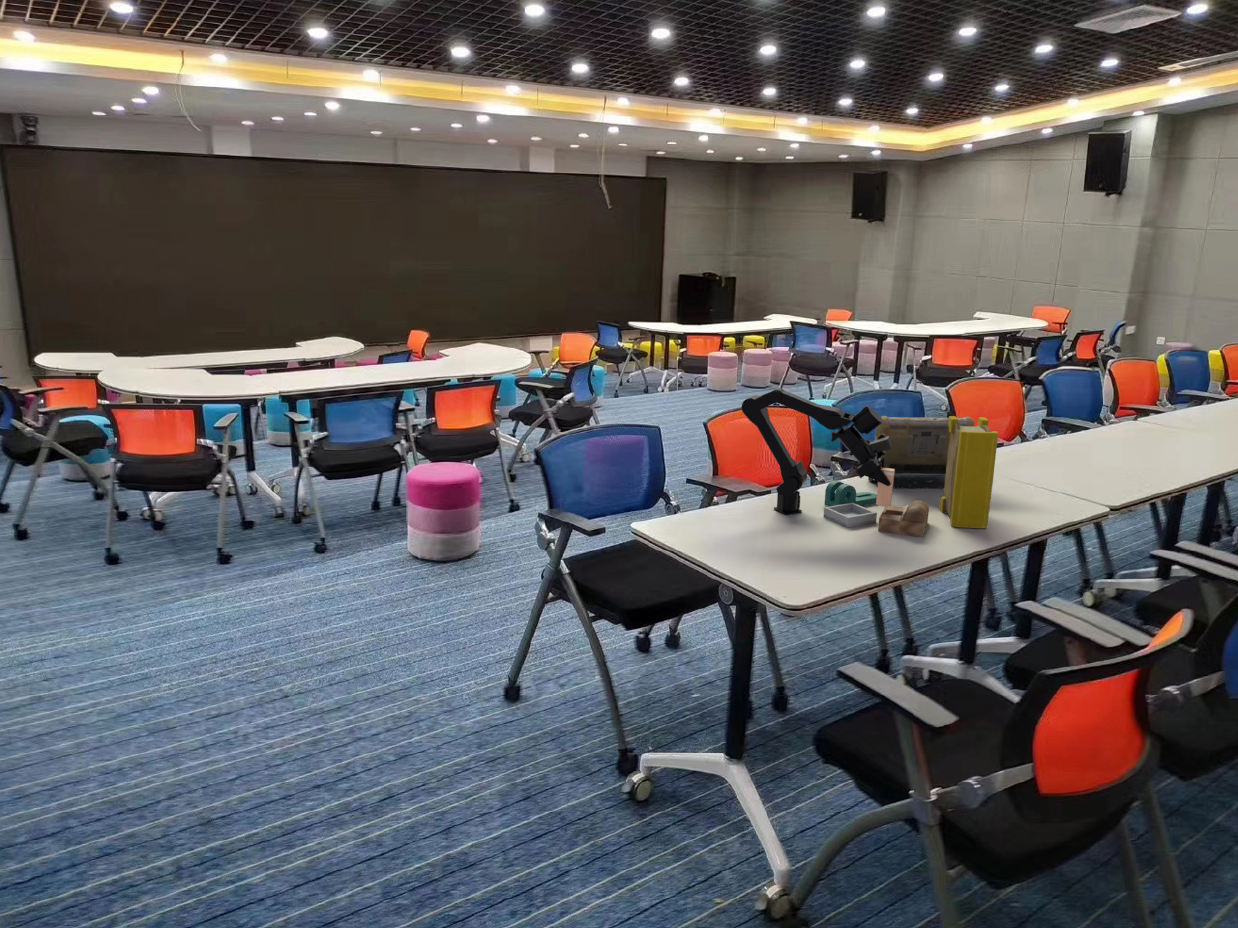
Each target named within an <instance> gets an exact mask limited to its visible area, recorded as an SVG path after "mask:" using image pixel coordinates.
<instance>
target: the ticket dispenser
mask: <svg viewBox="0 0 1238 928" xmlns="http://www.w3.org/2000/svg"><path fill="white" fill-rule="evenodd" d="M929 512H930V511H929V506H928V504H927V503H926V502H924V501H923V500H913V501H912V502H911V503H909V504H906V506H899V505H892V504H891V506H890V507H888V506H884V509H883V510H882V512H881V514H880V516H879V517H878V525H877V526H878V528H877V531H878V532H882V533H883V532H884V533H891V534H898V535H904V536H905V535H906V536H910V537H911V536H912V537H920V538H923V535H924V533H925V531H926V528H927V525H928V521H929Z"/></svg>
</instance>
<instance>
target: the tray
mask: <svg viewBox="0 0 1238 928" xmlns="http://www.w3.org/2000/svg"><path fill="white" fill-rule="evenodd" d="M877 517H878V512H876V511H874V510H871V509H869V508H866V507H865V506H859V505H857V504H854V503H848V504H842V505H836V506H830V507H829V506H825V507H824V508H823V518H825V519H828V520H829V521H832V522H834V523H837V524H839V525H841V526H844V527H846V528H852V527H857V526H863V525H869V524H873V523H877V519H878V518H877Z"/></svg>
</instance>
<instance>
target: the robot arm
mask: <svg viewBox="0 0 1238 928" xmlns="http://www.w3.org/2000/svg"><path fill="white" fill-rule="evenodd" d="M774 404H779V405H782V406H783V407H786V408H788V409H791V410H793V411H796V412H799V413H801V414H803V415H806V416H808V417H811V418H812V419H814V420H815V421H816V422H817V423H818V424H820V425H821V426H822V427H824V428H826V429H828V430H831V431H832V432H831V440H830V441H831V442H832V443H834V442H835V441H836V440H837V439H838V440H839V441H840V442H841V444H843V446H844V447H845V448H846V449H847V451H849V454H848V455H850V457H854V459H856V461H857V462H858V464H857V465H858V467H857V468H856V473H855V474H856V475H857V476H858V478H860V479H862V478H864V477H867V478H868V477H869V478H872V479H873V481H876V482H877V481H878V482H880V483H882V484H884V485H886V486H890V485H891V483H890V481H889V479H888V478H887V476H886V475H885V473H884V472H883V470H882V468H886V467H885V465H884V463H885V457H884V458H882V459H880V457H881V456H882V455H885V454H886V453H887V452H886V451H887V450H890V449H891V448H892V447H893V445H892V443H891V438H890V437H889V436H886V435H885V434H881V435H879V436H878V440H875V439H874V440H872V441H871V440H870V439H868V438H865V437H864V436H863V434H865V435H869V434H870V433H871V432H873V431H874V430H876V429H877V427H878V426H879V425H880V424H882V423H883V420H882V418H881V415H880V414H879V412H878V411H875V409H873V408H872V407H870V406H869V405H868V404H867V405H866V406H864V407H863V408H862V409H861V410H860V411H859V412H858V413H856V414H852V413H849V412H845V411H844V410H843V409H842V408H841V407H836V406H831V405H826V404H819V403H816V402H813V401H811V400H809V399H806V398H804V397H801V396H799V395H797V394H794V393H791V392H789V391H786V390H784V389H783V388H780V387H777V388H774V389H773V390H772V391H769V392H766V393H764V394H762V395H756V394H754V395H751V396H749V397H747V398H746V399H745V400H743V402H742V404H741V412H742V414H744V416H745V417H746V418H747V420H748V421H749V422H750V423H752V424H753V425H754V426H755V427H757V429H758V431H759V433H760V435H761V437H762V438H763V440H764V442H765V443H766V444H767V447H768V449H769V450H770V452H771V453H772V455H773V457H774V459H775V461H776V462H777V465H778V466H779V471H780V476H781V479H782V482H781V483H780V484H779V485H778V486H777V487H776V489H775V490H776V493H777V494H776V495H777V499H776V506H775V507H773V510H775V511H777V512H779V513H781V514H783V515H790V514H791V515H792V514H797V513H802V512H803V509H800V508H801V495H800V494H801V493H800V491H799V490H800V489H801V488H802V487H803V486H804V485H805V484H806V483H807V480H808V473H807V472H808V470H807V469H806V468H805V466H804V464H803V461H802V460H799V461H796V460H794V458H793V457H792V455H791V454H790V452H789V450H788V449H787V447H786V446H785V445H786V444H784V442H783V441H782V440H783V439H781V437H780V435H779V433H778V432H777V431H778V430H776V428H775V426H774V424H773V423H772V421H771V419H770V415H769V409H768V407H770V406H771V405H774ZM850 424H851V425H850ZM847 426H848V427H847ZM840 427H841V428H840ZM837 429H839V430H837ZM836 430H837V431H836ZM885 450H886V451H885Z"/></svg>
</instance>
